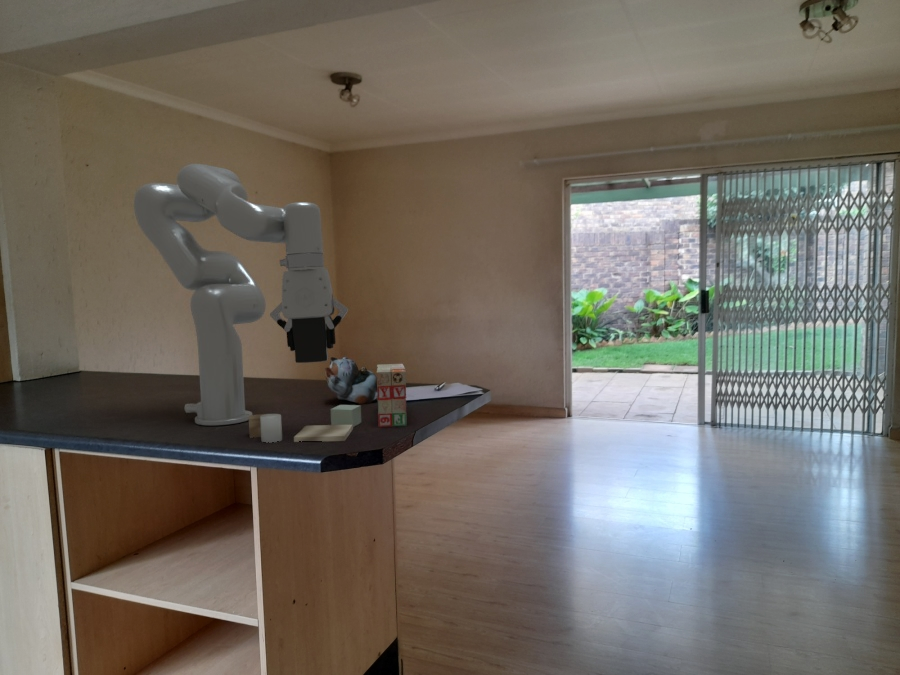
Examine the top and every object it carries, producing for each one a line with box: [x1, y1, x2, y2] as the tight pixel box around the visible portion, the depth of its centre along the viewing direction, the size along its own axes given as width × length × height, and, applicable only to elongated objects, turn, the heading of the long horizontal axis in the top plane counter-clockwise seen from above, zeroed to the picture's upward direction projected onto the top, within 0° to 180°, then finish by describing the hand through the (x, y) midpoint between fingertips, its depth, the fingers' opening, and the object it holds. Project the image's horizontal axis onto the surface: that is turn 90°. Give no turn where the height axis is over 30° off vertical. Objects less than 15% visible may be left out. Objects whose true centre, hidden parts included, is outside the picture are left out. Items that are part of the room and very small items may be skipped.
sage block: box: [330, 404, 362, 428], centre depth 136 cm, size 5×5×4 cm
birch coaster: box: [293, 424, 354, 443], centre depth 126 cm, size 10×10×1 cm
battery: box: [292, 317, 329, 364], centre depth 128 cm, size 7×4×11 cm, turn 90°
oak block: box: [248, 413, 267, 439], centre depth 128 cm, size 4×4×4 cm
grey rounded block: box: [260, 413, 283, 444], centre depth 123 cm, size 4×4×5 cm
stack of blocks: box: [376, 363, 408, 428], centre depth 143 cm, size 21×6×12 cm, turn 6°
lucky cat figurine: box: [324, 356, 378, 405], centre depth 164 cm, size 15×12×14 cm
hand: (312, 348), depth 128 cm, fingers closed on battery, 7 cm apart
